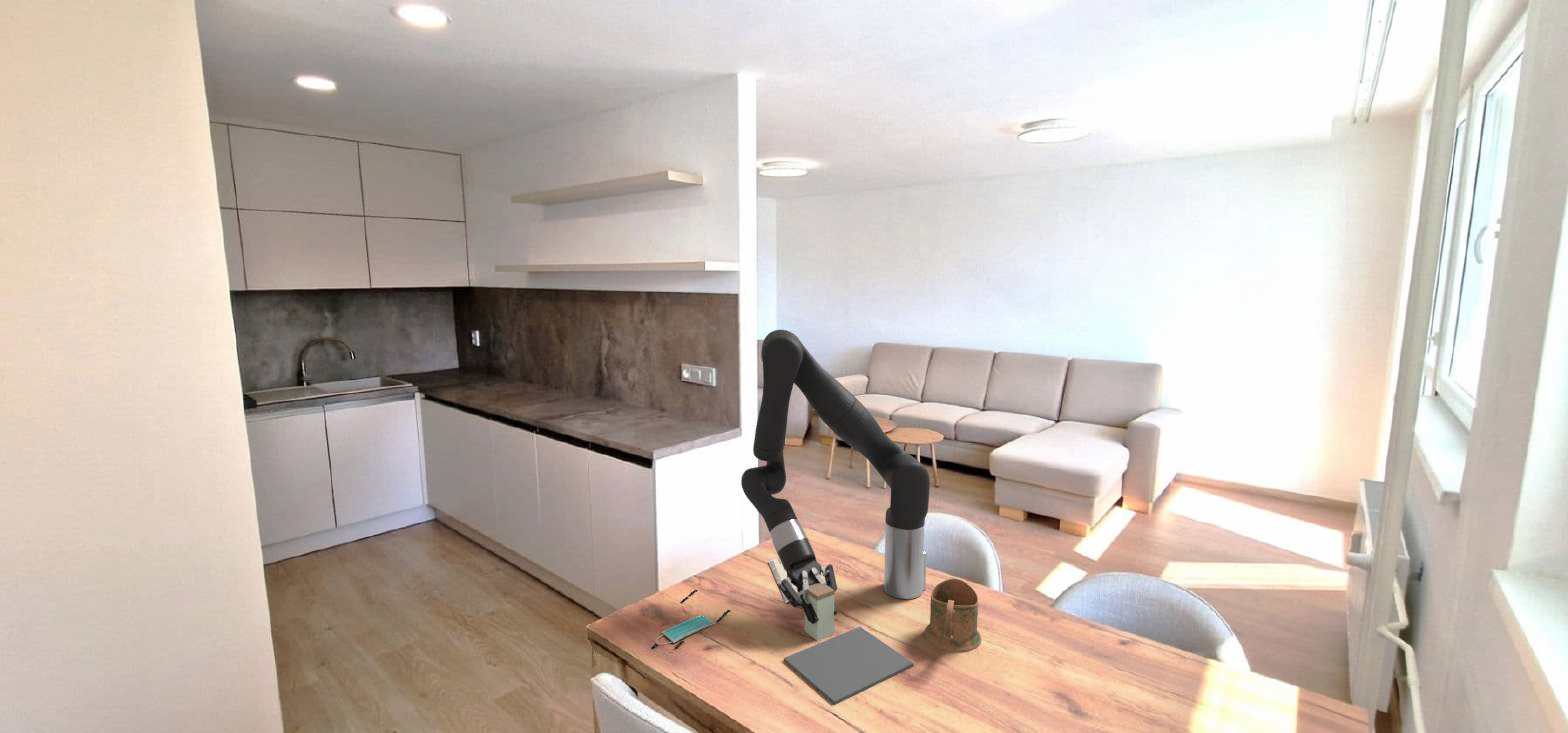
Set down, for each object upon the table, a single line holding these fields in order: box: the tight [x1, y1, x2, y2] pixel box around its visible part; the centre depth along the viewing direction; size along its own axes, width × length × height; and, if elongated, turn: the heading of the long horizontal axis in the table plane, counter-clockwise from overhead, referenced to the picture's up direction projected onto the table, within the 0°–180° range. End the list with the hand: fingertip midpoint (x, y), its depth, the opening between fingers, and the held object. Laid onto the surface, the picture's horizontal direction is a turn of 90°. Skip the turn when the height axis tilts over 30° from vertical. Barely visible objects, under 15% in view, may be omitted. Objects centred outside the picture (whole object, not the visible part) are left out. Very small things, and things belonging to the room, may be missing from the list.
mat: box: [783, 626, 915, 705], centre depth 128 cm, size 20×16×1 cm
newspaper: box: [768, 557, 836, 604], centre depth 163 cm, size 23×12×2 cm, turn 12°
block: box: [804, 583, 835, 642], centre depth 138 cm, size 4×4×10 cm
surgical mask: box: [650, 589, 732, 650], centre depth 140 cm, size 21×4×10 cm
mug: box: [924, 578, 982, 653], centre depth 134 cm, size 12×18×12 cm, turn 160°
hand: (825, 618), depth 136 cm, fingers closed on block, 4 cm apart
